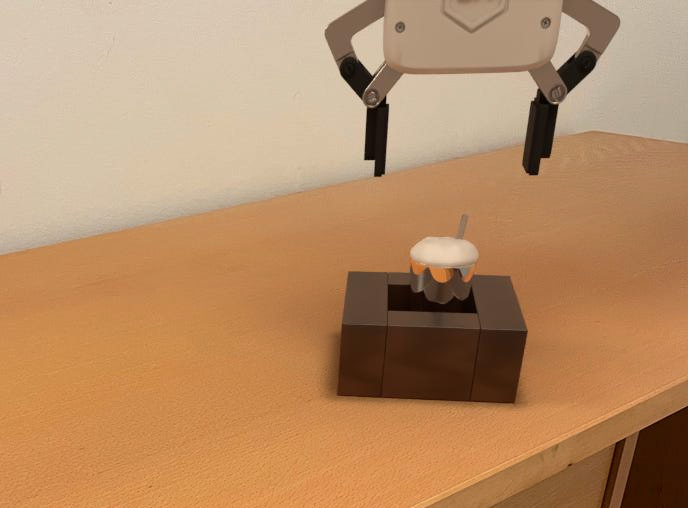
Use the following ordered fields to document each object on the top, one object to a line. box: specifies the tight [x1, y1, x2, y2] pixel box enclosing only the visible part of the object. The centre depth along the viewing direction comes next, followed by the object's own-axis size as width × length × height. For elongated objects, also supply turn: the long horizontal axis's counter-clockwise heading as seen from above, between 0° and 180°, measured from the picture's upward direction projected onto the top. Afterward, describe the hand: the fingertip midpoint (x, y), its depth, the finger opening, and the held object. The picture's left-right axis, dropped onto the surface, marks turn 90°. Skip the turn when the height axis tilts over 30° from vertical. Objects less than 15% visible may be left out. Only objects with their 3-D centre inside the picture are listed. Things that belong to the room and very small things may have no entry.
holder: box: [336, 270, 529, 404], centre depth 70 cm, size 12×12×5 cm
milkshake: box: [409, 213, 480, 313], centre depth 68 cm, size 4×5×10 cm
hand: (453, 171), depth 64 cm, fingers open, 9 cm apart
